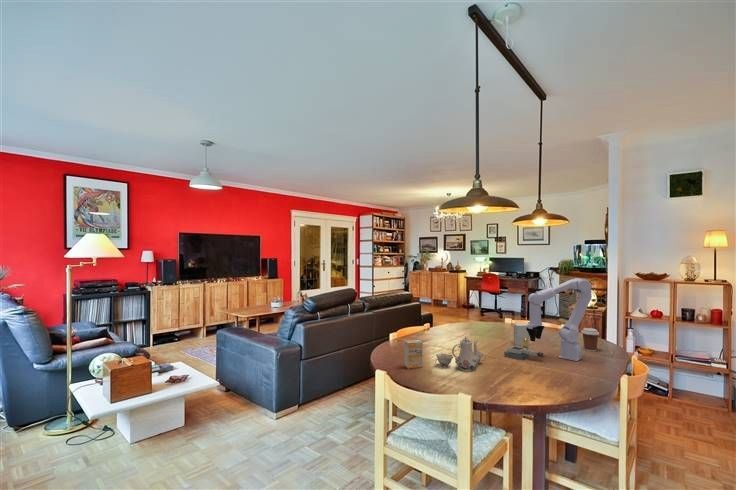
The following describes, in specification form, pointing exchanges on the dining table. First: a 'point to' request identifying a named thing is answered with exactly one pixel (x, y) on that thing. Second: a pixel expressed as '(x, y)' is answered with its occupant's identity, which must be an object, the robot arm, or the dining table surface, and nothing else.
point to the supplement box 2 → (520, 333)
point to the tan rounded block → (525, 343)
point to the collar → (524, 351)
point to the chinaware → (462, 356)
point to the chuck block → (516, 355)
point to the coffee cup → (590, 339)
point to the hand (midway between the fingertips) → (535, 339)
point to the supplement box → (413, 354)
